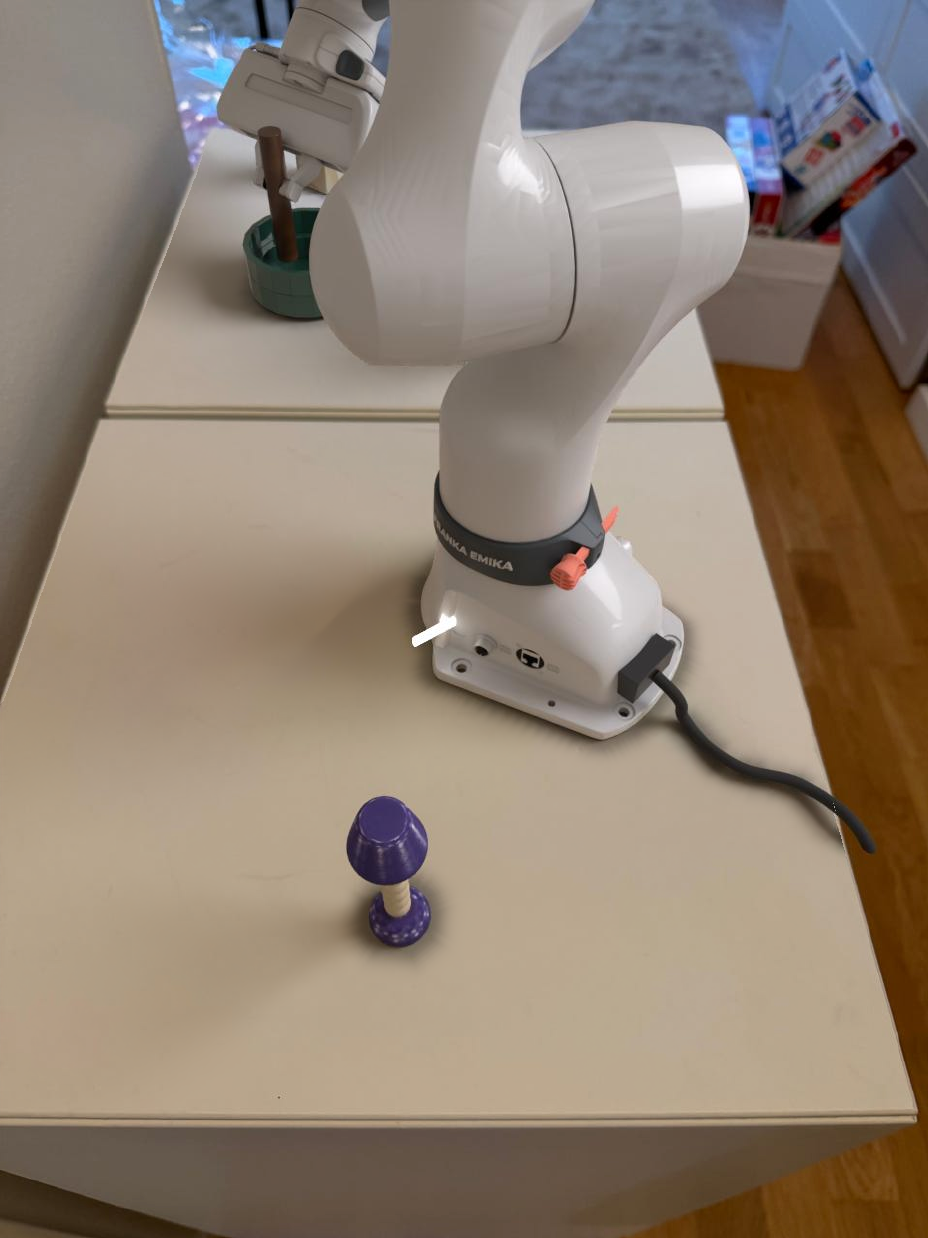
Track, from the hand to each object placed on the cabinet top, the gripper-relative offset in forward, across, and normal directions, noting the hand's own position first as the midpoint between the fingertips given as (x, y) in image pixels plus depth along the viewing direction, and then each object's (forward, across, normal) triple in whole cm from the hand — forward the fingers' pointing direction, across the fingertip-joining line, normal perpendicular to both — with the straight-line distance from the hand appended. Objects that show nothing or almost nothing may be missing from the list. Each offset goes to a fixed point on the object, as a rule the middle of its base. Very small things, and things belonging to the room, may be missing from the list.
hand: (274, 193), depth 99 cm
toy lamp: (+45, +56, -29) cm, 77 cm away
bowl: (+7, +3, +8) cm, 11 cm away
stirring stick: (+5, 0, +6) cm, 8 cm away
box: (-6, -11, +22) cm, 25 cm away
